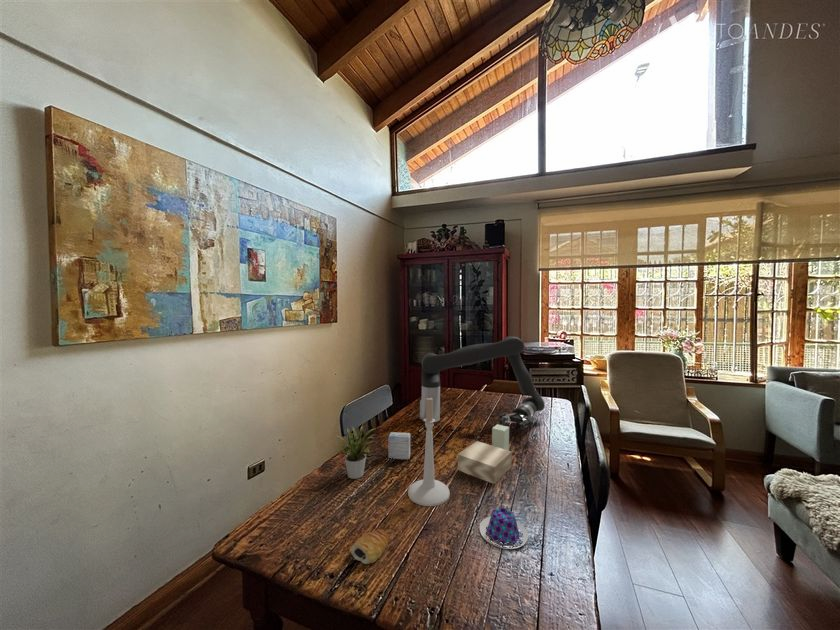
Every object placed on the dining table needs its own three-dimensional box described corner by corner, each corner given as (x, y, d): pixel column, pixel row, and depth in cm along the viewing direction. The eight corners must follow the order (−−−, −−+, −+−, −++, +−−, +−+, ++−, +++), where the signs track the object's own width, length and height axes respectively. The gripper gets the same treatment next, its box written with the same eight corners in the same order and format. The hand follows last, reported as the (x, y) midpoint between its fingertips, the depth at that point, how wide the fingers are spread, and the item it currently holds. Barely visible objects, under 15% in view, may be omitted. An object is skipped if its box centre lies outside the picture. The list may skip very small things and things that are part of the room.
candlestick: (419, 511, 90) (420, 406, 89) (401, 487, 102) (401, 394, 100) (457, 498, 96) (458, 400, 95) (436, 478, 107) (437, 389, 106)
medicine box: (410, 454, 124) (410, 432, 124) (409, 460, 120) (409, 437, 119) (390, 453, 125) (390, 431, 124) (388, 459, 120) (388, 436, 120)
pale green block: (491, 453, 126) (492, 428, 125) (496, 448, 130) (497, 424, 129) (504, 456, 123) (504, 431, 122) (508, 451, 127) (509, 427, 126)
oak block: (457, 471, 113) (457, 454, 112) (476, 456, 124) (476, 441, 123) (494, 485, 104) (494, 467, 104) (511, 467, 115) (511, 451, 115)
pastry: (374, 532, 82) (374, 518, 82) (395, 543, 78) (396, 528, 78) (348, 557, 74) (348, 541, 74) (370, 570, 70) (370, 553, 70)
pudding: (538, 546, 78) (538, 525, 78) (494, 556, 75) (494, 534, 74) (510, 514, 90) (510, 496, 89) (471, 522, 86) (471, 503, 86)
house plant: (388, 469, 112) (388, 424, 112) (365, 490, 100) (365, 439, 99) (354, 461, 118) (354, 417, 118) (329, 479, 106) (329, 431, 105)
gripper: (508, 402, 152) (495, 412, 139) (538, 408, 144) (528, 419, 131) (508, 418, 152) (494, 429, 139) (538, 424, 144) (528, 437, 131)
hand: (511, 424), depth 135 cm, fingers open, 8 cm apart
